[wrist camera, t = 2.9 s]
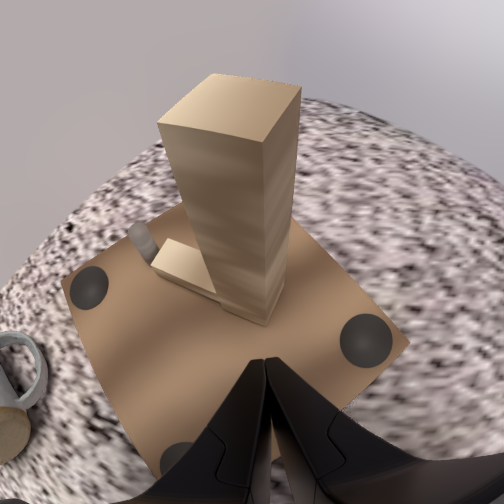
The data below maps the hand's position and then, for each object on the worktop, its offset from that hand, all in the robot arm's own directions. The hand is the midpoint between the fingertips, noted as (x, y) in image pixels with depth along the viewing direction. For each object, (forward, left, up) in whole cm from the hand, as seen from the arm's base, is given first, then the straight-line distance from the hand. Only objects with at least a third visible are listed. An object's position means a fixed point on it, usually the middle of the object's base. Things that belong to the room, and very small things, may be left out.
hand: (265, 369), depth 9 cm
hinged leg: (+6, -1, -6) cm, 9 cm away
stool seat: (+5, 0, -8) cm, 10 cm away
